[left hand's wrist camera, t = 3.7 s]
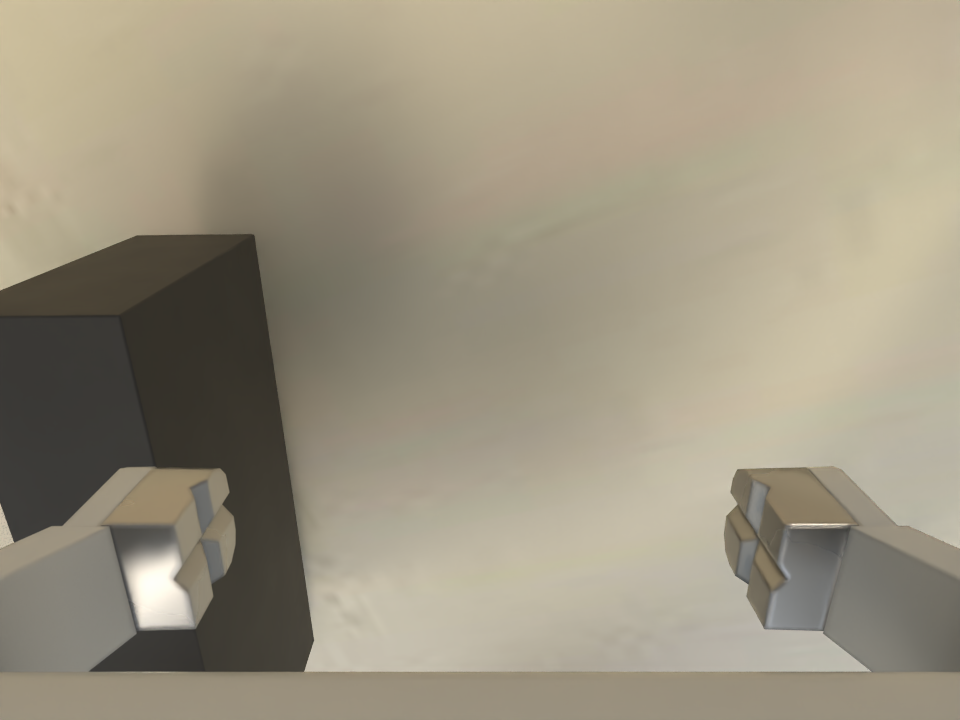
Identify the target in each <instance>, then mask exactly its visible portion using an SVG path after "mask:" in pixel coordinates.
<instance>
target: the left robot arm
mask: <svg viewBox="0 0 960 720" xmlns="http://www.w3.org/2000/svg"><path fill="white" fill-rule="evenodd" d="M228 494H229V488H228V483H227V478H226V474H225V473H224V472H223V471H222V470H221V469H220V468H181V467H158V468H157V467H126V468H121V469H119V470H118V471H117V472H116V473H115V474H114V475H113V476H112V477H111V478H110V479H109V480H108V481H107V482H106V483H105V484H104V485H103V486H102V487H101V488H100V489H99V490H98V491H97V492H96V493H95V494H94V495H93V496H92V497H91V498H90V499H89V500H88V501H87V502H86V503H85V504H84V505H83V506H82V507H81V508H80V509H79V510H78V511H77V512H76V513H75V514H74V515H73V516H72V517H71V518H70V519H69V520H68V521H67V522H66V523H65V524H64V525H63V526H51V527H49V528H46V529H44V530H42V531H40V532H37V533H35V534H33V535H31V536H28V537H26V538H24V539H21V540H19V541H17V542H15V543H12V544H10V545H8V546H6V547H3V548H1V549H0V720H960V549H959V548H956V547H954V546H952V545H950V544H947V543H945V542H943V541H941V540H938V539H936V538H934V537H932V536H929V535H927V534H925V533H923V532H920V531H918V530H916V529H914V528H911V527H909V526H897V525H896V524H895V523H894V522H893V521H892V520H891V519H890V518H889V517H888V516H887V515H886V514H885V513H884V512H883V511H882V510H881V509H880V508H879V507H878V506H877V505H876V504H875V503H874V502H873V501H872V500H871V499H870V498H869V497H868V496H867V495H866V494H865V493H864V492H863V491H862V490H861V489H860V488H859V487H858V486H857V485H856V484H855V483H854V482H853V481H852V480H851V479H850V478H849V477H848V476H847V475H846V474H845V473H844V472H843V471H842V470H841V469H839V468H836V467H833V466H829V467H803V468H763V469H737V471H736V473H735V476H734V478H733V481H732V487H731V494H732V496H733V497H734V499H735V500H736V502H737V503H738V505H737V506H736V507H735V508H734V509H733V510H732V511H731V512H730V513H729V514H728V515H727V516H726V523H725V531H724V539H725V551H726V555H727V558H728V561H729V564H730V566H731V568H732V570H733V572H734V574H735V576H737V577H738V578H740V579H741V580H743V581H744V582H746V583H747V584H749V585H748V591H747V598H748V600H749V602H750V604H751V605H752V607H753V609H754V611H755V613H756V614H757V616H758V618H759V620H760V622H761V624H762V625H763V627H764V629H776V630H812V631H824V632H823V634H825V635H826V636H827V637H828V638H830V639H831V640H832V641H833V642H835V643H836V644H837V645H839V646H840V647H841V648H842V649H844V650H845V651H846V652H847V653H849V654H850V655H851V656H853V657H854V658H855V659H856V660H858V661H859V662H860V663H862V664H863V665H864V666H865V667H867V668H868V669H869V670H870V671H872V672H88V671H90V670H91V669H92V668H94V667H95V666H96V665H97V664H99V663H100V662H101V661H103V660H104V659H105V658H106V657H108V656H109V655H110V654H111V653H113V652H114V651H115V650H117V649H118V648H119V647H120V646H122V645H123V644H124V643H125V642H127V641H128V640H129V639H131V638H132V637H133V636H134V635H136V633H137V632H136V631H147V630H183V629H196V627H197V625H198V624H199V622H200V620H201V618H202V616H203V615H204V613H205V611H206V609H207V607H208V605H209V604H210V602H211V600H212V598H213V591H212V586H211V584H213V583H214V582H216V581H217V580H219V579H220V578H222V577H223V576H225V574H226V572H227V570H228V568H229V566H230V564H231V562H232V558H233V553H234V549H235V544H236V529H235V522H234V516H233V515H232V514H231V513H230V512H229V511H228V510H227V509H226V508H225V507H224V506H223V505H222V503H223V502H224V500H225V499H226V497H227V495H228Z"/></svg>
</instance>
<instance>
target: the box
mask: <svg viewBox="0 0 960 720" xmlns="http://www.w3.org/2000/svg"><path fill="white" fill-rule="evenodd" d="M126 467H157V468H158V467H181V468H220V469H221V470H222V471H223V472H224V473H225V474H226V478H227V483H228V488H229V494H228V495H227V497H226V499H225V500H224V502H223V503H222V505H223V506H224V507H225V508H226V509H227V510H228V511H229V512H230V513H231V514H232V515H233V516H234V522H235V529H236V544H235V549H234V553H233V558H232V562H231V564H230V566H229V568H228V570H227V572H226V574H225V576H223V577H222V578H220V579H219V580H217V581H216V582H214V583H213V584H211V586H212V591H213V598H212V600H211V602H210V604H209V605H208V607H207V609H206V611H205V613H204V615H203V616H202V618H201V620H200V622H199V624H198V625H197V627H196V629H183V630H147V631H136V632H137V633H136V635H134V636H133V637H132V638H131V639H129V640H128V641H127V642H125V643H124V644H123V645H122V646H120V647H119V648H118V649H117V650H115V651H114V652H113V653H111V654H110V655H109V656H108V657H106V658H105V659H104V660H103V661H101V662H100V663H99V664H97V665H96V666H95V667H94V668H92V669H91V670H90V671H88V672H304V670H305V667H306V664H307V661H308V657H309V654H310V651H311V648H312V645H313V642H314V637H313V630H312V624H311V617H310V610H309V603H308V596H307V590H306V583H305V576H304V569H303V563H302V556H301V549H300V542H299V535H298V529H297V522H296V515H295V508H294V502H293V495H292V488H291V481H290V474H289V468H288V461H287V454H286V447H285V441H284V434H283V427H282V420H281V413H280V407H279V400H278V393H277V386H276V380H275V373H274V366H273V359H272V352H271V346H270V339H269V332H268V325H267V319H266V312H265V305H264V298H263V292H262V285H261V278H260V271H259V264H258V258H257V251H256V244H255V237H254V235H253V234H234V235H142V236H135V237H132V238H130V239H127V240H125V241H122V242H120V243H117V244H115V245H112V246H110V247H107V248H105V249H102V250H100V251H97V252H95V253H92V254H90V255H87V256H85V257H83V258H80V259H78V260H75V261H73V262H70V263H68V264H65V265H63V266H60V267H58V268H55V269H53V270H50V271H48V272H45V273H43V274H40V275H38V276H35V277H33V278H30V279H28V280H26V281H23V282H21V283H18V284H16V285H13V286H11V287H8V288H6V289H3V290H1V291H0V504H1V507H2V509H3V512H4V515H5V518H6V521H7V523H8V526H9V529H10V532H11V535H12V537H13V540H14V543H15V542H17V541H19V540H21V539H24V538H26V537H28V536H31V535H33V534H35V533H37V532H40V531H42V530H44V529H46V528H49V527H51V526H63V525H64V524H65V523H66V522H67V521H68V520H69V519H70V518H71V517H72V516H73V515H74V514H75V513H76V512H77V511H78V510H79V509H80V508H81V507H82V506H83V505H84V504H85V503H86V502H87V501H88V500H89V499H90V498H91V497H92V496H93V495H94V494H95V493H96V492H97V491H98V490H99V489H100V488H101V487H102V486H103V485H104V484H105V483H106V482H107V481H108V480H109V479H110V478H111V477H112V476H113V475H114V474H115V473H116V472H117V471H118V470H119V469H121V468H126Z"/></svg>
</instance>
